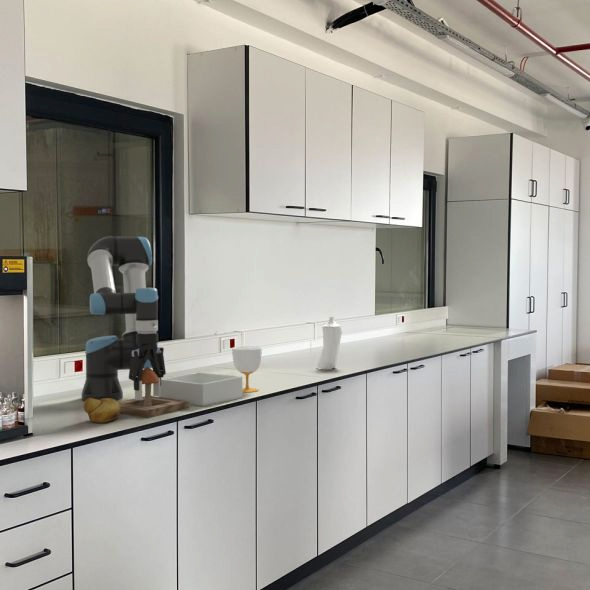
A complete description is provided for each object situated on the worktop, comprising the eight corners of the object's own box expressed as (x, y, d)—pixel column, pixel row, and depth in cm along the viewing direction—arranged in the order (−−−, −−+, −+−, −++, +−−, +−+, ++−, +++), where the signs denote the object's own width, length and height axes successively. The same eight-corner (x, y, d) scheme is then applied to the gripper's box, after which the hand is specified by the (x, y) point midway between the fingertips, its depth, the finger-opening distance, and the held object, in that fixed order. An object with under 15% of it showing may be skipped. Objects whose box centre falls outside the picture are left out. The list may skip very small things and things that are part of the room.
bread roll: (106, 415, 253) (106, 391, 253) (130, 417, 249) (129, 393, 249) (80, 422, 241) (80, 398, 241) (105, 425, 237) (104, 400, 237)
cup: (228, 389, 304) (228, 347, 304) (255, 387, 309) (255, 345, 308) (238, 393, 293) (237, 350, 293) (266, 391, 298) (265, 348, 297)
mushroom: (151, 406, 268) (150, 364, 267) (164, 409, 262) (163, 366, 261) (131, 409, 262) (131, 366, 261) (144, 413, 256) (144, 369, 256)
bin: (203, 406, 267) (203, 384, 266) (158, 400, 279) (158, 379, 279) (242, 397, 285) (242, 376, 284) (198, 392, 297) (198, 372, 297)
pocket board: (147, 417, 248) (147, 410, 248) (106, 411, 260) (106, 404, 259) (189, 408, 264) (189, 401, 264) (148, 402, 276) (148, 395, 276)
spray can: (336, 366, 372) (336, 315, 371) (344, 369, 362) (344, 317, 361) (314, 367, 368) (313, 316, 367) (321, 370, 358) (321, 317, 357)
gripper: (132, 335, 250) (132, 403, 251) (176, 330, 267) (176, 394, 268) (116, 334, 255) (117, 401, 255) (160, 329, 272) (161, 392, 272)
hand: (147, 397), depth 262 cm, fingers closed on mushroom, 8 cm apart
